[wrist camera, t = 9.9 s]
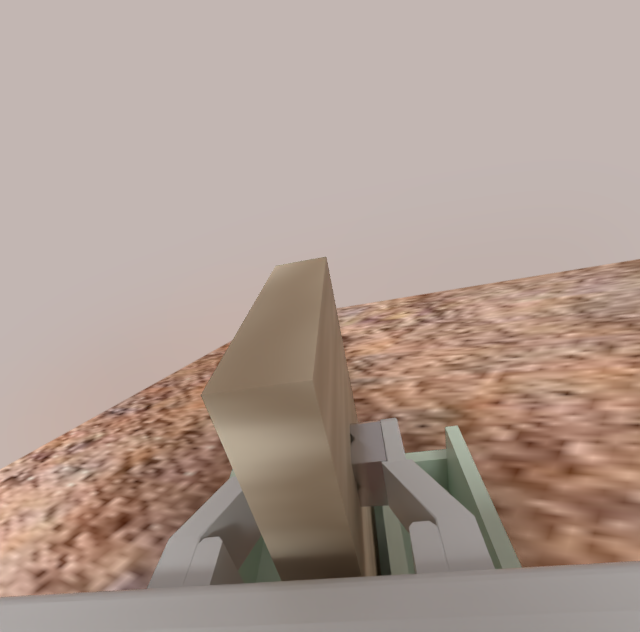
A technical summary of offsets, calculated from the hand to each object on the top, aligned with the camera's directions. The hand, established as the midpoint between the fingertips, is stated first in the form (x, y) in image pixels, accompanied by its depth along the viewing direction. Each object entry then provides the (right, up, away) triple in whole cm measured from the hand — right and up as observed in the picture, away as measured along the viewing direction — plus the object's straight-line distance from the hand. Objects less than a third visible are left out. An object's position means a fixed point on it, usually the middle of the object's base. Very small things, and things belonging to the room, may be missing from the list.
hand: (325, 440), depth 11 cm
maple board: (+1, -7, +3) cm, 8 cm away
